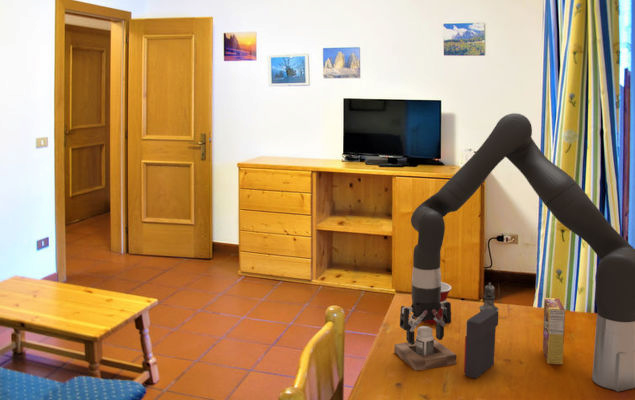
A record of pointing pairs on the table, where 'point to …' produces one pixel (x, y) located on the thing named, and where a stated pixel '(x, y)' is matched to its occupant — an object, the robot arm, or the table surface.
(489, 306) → the rusty flanged peg
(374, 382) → the table surface
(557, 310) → the candy box
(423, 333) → the pill bottle
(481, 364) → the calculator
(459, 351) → the table surface
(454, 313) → the table surface
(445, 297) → the plastic cup
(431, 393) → the table surface
